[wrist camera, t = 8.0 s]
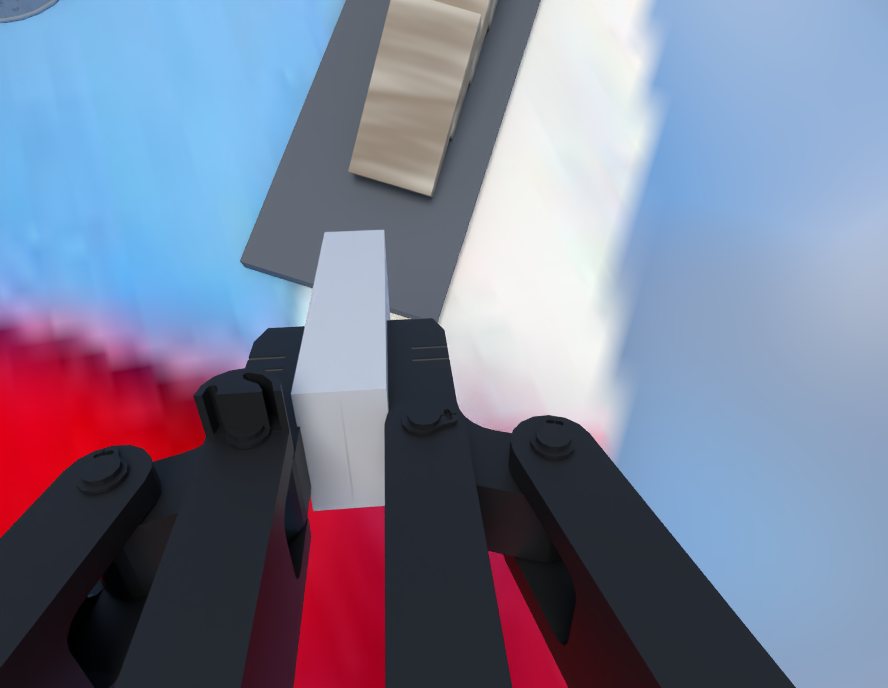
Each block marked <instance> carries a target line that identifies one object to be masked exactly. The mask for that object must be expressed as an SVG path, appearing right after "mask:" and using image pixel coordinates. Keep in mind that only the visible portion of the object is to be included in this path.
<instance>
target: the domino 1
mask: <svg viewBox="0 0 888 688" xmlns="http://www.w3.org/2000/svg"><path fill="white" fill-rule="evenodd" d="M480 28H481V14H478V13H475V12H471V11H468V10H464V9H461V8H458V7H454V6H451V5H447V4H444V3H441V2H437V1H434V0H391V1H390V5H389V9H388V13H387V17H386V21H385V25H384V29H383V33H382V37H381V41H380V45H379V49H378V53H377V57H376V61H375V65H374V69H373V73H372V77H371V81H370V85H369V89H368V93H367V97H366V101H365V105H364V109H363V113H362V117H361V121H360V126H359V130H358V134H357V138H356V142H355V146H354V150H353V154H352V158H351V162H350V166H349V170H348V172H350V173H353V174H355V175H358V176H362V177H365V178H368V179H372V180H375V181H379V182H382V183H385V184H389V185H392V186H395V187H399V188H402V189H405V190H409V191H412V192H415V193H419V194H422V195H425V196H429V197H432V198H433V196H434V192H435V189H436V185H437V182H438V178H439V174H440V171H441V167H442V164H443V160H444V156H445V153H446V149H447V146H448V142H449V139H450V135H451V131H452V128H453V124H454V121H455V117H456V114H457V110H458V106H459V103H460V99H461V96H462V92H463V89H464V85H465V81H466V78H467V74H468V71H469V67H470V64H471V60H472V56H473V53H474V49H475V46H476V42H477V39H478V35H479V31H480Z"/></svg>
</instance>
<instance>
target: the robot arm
mask: <svg viewBox="0 0 888 688" xmlns="http://www.w3.org/2000/svg"><path fill="white" fill-rule="evenodd" d="M194 399H195V402H196V406H197V409H198V412H199V415H200V418H201V422H202V425H203V428H204V431H205V434H206V438H205V441H204V443H203V445H201V446H199V447H197V448H196V449H193V450H190V451H187V452H185V453H182V454H178V455H175V456H171V457H168V458H164V459H161V460H157V461H154V462H153V461H152V458H151V456H150V455H149V454H148V453H147V452H146V451H145V450H144V449H142V448H139V447H135V446H132V445H117V446H111V447H107V448H103V449H100V450H96V451H94V452H92V453H90V454H88V455H86V456H84V457H82V458H80V459H78V460H77V461H76V462H74V463H73V464H72V465H71V466H69V467H68V468H67V469H66V470H65V471H63V472H62V474H61V475H60V476H59V477H58V478H57V479H56V480H55V481H54V482H53V483H52V484H51V485H50V486H49V487H48V488H47V489H46V490H45V492H44V493H43V494H42V495H41V496H40V497H39V498H38V499H37V500H36V501H35V502H34V503H33V504H32V505H31V506H30V507H29V508H28V509H27V511H26V512H25V513H24V514H23V515H22V516H21V517H20V518H19V519H18V520H17V521H16V522H15V523H14V524H13V525H12V526H11V527H10V529H9V530H8V531H7V532H6V533H5V534H4V535H3V536H2V537H1V538H0V688H293V686H294V677H295V669H296V660H297V652H298V643H299V635H300V626H301V618H302V609H303V601H304V592H305V584H306V575H307V567H308V558H309V550H310V541H311V531H310V524H309V519H308V508H309V500H310V496H311V501H312V506H313V511H321V510H334V509H347V508H360V507H374V506H385V688H512V683H511V677H510V672H509V666H508V660H507V655H506V649H505V644H504V638H503V633H502V627H501V621H500V616H499V610H498V605H497V599H496V593H495V588H494V582H493V577H492V571H491V565H490V560H489V554H488V551H491V552H496V553H501V554H504V558H505V561H506V563H507V565H508V567H509V569H510V571H511V573H512V575H513V577H514V579H515V581H516V583H517V585H518V587H519V589H520V591H521V593H522V595H523V597H524V599H525V601H526V603H527V605H528V607H529V609H530V611H531V613H532V615H533V617H534V619H535V621H536V623H537V625H538V627H539V629H540V631H541V633H542V635H543V637H544V639H545V641H546V643H547V645H548V647H549V649H550V651H551V653H552V655H553V657H554V659H555V661H556V663H557V665H558V667H559V669H560V671H561V673H562V675H563V677H564V679H565V682H566V684H567V686H568V688H796V687H795V686H794V685H793V684H792V682H791V681H790V680H789V679H788V678H787V676H786V675H785V674H784V672H783V671H782V670H781V669H780V668H779V666H778V665H777V664H776V663H775V661H774V660H773V659H772V658H771V656H770V655H769V654H768V653H767V652H766V650H765V649H764V648H763V647H762V645H761V644H760V643H759V642H758V641H757V639H756V638H755V637H754V636H753V634H752V633H751V632H750V631H749V629H748V628H747V627H746V626H745V624H744V623H743V622H742V621H741V619H740V618H739V617H738V616H737V615H736V614H735V612H734V611H733V610H732V608H731V607H730V606H729V605H728V603H727V602H726V601H725V600H724V599H723V597H722V596H721V595H720V594H719V592H718V591H717V590H716V589H715V587H714V586H713V585H712V584H711V582H710V581H709V580H708V579H707V578H706V576H705V575H704V574H703V573H702V571H701V570H700V569H699V568H698V566H697V565H696V564H695V563H694V562H693V560H692V559H691V558H690V557H689V555H688V554H687V553H686V552H685V551H684V549H683V548H682V547H681V545H680V544H679V543H678V542H677V541H676V539H675V538H674V537H673V536H672V534H671V533H670V532H669V531H668V529H667V528H666V527H665V526H664V525H663V523H662V522H661V521H660V520H659V518H658V517H657V516H656V515H655V513H654V512H653V511H652V510H651V508H650V507H649V506H648V505H647V504H646V502H645V501H644V500H643V499H642V497H641V496H640V495H639V494H638V492H637V491H636V490H635V489H634V488H633V486H632V485H631V484H630V483H629V482H628V480H627V479H626V478H625V476H624V475H623V474H622V473H621V471H619V469H618V468H617V467H616V465H615V464H614V463H613V462H612V460H611V459H610V458H609V457H608V455H607V454H606V453H605V452H604V451H603V449H602V448H601V447H600V446H599V444H598V443H597V442H596V441H595V439H594V438H593V437H592V436H591V435H590V433H589V432H587V431H586V430H585V429H584V428H583V427H582V426H580V425H579V424H578V423H575V422H573V421H571V420H568V419H566V418H563V417H557V416H551V415H546V416H535V417H532V418H529V419H527V420H525V421H522V422H521V423H520V424H519V425H518V426H517V427H516V428H515V429H514V430H513V432H512V433H507V432H501V431H495V430H491V429H487V428H483V427H481V426H479V425H477V424H475V423H473V422H471V421H470V420H469V419H467V418H466V417H465V416H464V415H463V414H462V412H461V411H460V409H459V407H458V404H457V400H456V395H455V389H454V383H453V377H452V371H451V366H450V360H449V354H448V348H447V343H446V337H445V331H444V329H443V328H442V327H441V326H440V325H439V324H438V323H437V322H436V321H435V320H434V319H433V318H425V319H405V320H390V309H389V294H388V279H387V264H386V249H385V234H384V230H365V231H340V232H324V237H323V242H322V247H321V252H320V257H319V261H318V266H317V271H316V276H315V281H314V285H313V290H312V295H311V300H310V305H309V309H308V314H307V319H306V324H305V326H302V327H283V328H268V329H267V330H266V331H265V332H264V333H263V334H262V335H261V336H260V337H259V338H258V339H257V340H256V341H255V342H254V343H253V346H252V349H251V352H250V355H249V360H248V361H247V364H246V367H245V368H244V369H238V370H232V371H228V372H225V373H223V374H220V375H217V376H215V377H213V378H211V379H210V380H209V381H207V382H206V383H204V384H203V385H201V386H200V388H199V389H198V391H197V392H196V393H195V395H194Z"/></svg>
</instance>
